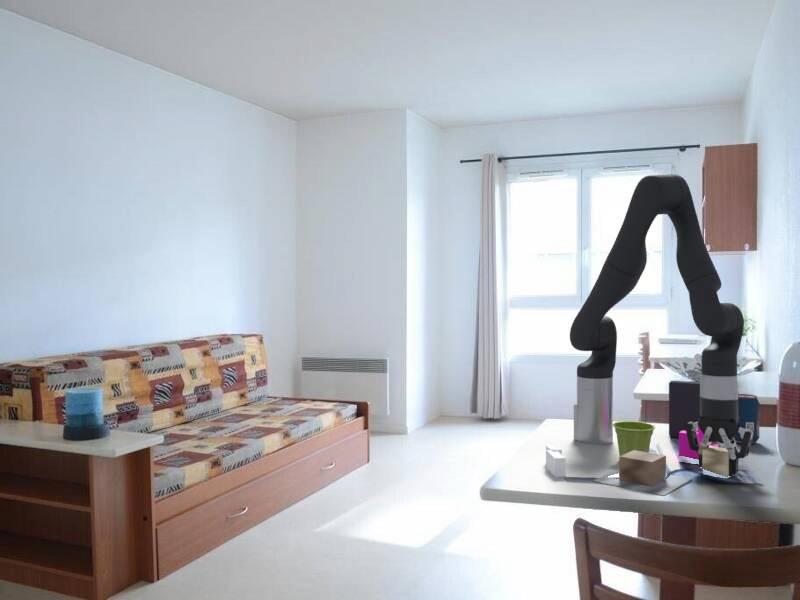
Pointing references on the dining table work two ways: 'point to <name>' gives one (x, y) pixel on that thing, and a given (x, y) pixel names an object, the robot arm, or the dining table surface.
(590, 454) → the dining table surface
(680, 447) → the toy block
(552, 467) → the napkin holder
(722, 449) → the maple brick
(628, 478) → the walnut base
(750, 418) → the soda can
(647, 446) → the plant pot
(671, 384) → the dark grey box
